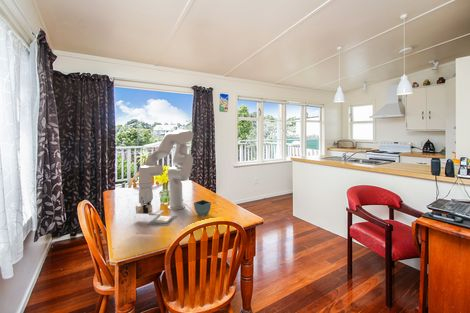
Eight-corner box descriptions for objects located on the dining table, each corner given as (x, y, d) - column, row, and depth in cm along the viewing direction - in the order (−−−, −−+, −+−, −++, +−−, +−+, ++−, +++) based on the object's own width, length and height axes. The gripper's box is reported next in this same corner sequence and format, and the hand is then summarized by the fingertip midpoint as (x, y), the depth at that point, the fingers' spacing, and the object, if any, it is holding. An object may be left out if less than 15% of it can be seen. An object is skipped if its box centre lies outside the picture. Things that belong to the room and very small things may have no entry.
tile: (160, 215, 151) (172, 216, 150) (160, 217, 151) (172, 218, 150) (155, 220, 143) (167, 221, 142) (155, 222, 144) (167, 223, 143)
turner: (134, 214, 145) (133, 207, 145) (140, 210, 152) (139, 203, 152) (159, 215, 143) (158, 207, 143) (163, 211, 150) (163, 204, 150)
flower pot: (201, 218, 152) (201, 205, 151) (193, 214, 158) (193, 202, 157) (211, 214, 158) (211, 202, 157) (203, 211, 164) (203, 199, 163)
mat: (158, 216, 156) (158, 215, 156) (177, 216, 154) (177, 216, 154) (146, 225, 140) (146, 224, 140) (167, 226, 138) (167, 226, 138)
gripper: (146, 182, 154) (148, 207, 156) (133, 188, 138) (134, 216, 140) (157, 182, 153) (158, 208, 155) (144, 188, 137) (146, 217, 139)
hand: (147, 212), depth 148 cm, fingers closed on turner, 2 cm apart
